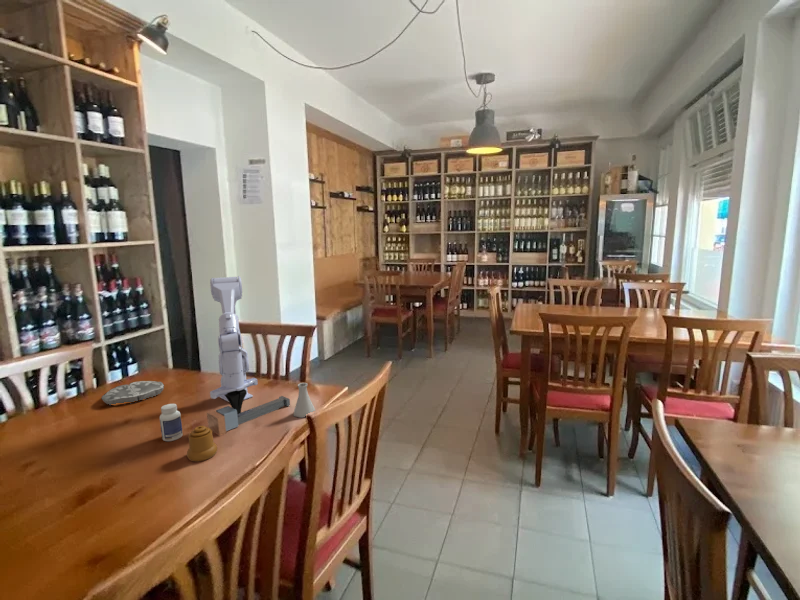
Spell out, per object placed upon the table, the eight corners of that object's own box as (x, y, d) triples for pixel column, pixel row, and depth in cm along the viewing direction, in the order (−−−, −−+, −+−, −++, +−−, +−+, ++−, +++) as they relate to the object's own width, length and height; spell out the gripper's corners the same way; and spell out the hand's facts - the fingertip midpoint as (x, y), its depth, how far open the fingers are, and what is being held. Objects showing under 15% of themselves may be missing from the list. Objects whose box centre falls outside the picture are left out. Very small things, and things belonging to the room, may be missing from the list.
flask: (318, 408, 141) (316, 380, 139) (311, 418, 134) (309, 388, 132) (297, 408, 142) (295, 380, 140) (289, 418, 135) (287, 388, 133)
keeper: (217, 426, 130) (215, 410, 129) (229, 421, 133) (228, 405, 132) (226, 431, 126) (224, 414, 125) (238, 426, 129) (236, 410, 128)
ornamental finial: (220, 446, 118) (213, 461, 111) (192, 449, 117) (183, 464, 110) (217, 420, 117) (210, 432, 109) (189, 422, 115) (179, 435, 108)
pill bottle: (187, 434, 125) (183, 404, 124) (170, 443, 120) (166, 411, 119) (174, 431, 128) (170, 401, 126) (158, 439, 123) (154, 408, 121)
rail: (208, 429, 128) (206, 412, 128) (280, 401, 148) (279, 386, 147) (219, 436, 124) (217, 418, 123) (292, 406, 143) (291, 391, 142)
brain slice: (157, 384, 168) (156, 376, 168) (169, 395, 156) (168, 388, 156) (98, 398, 156) (96, 390, 155) (105, 412, 143) (104, 404, 143)
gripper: (216, 381, 121) (221, 425, 124) (261, 367, 132) (264, 408, 134) (205, 376, 126) (209, 418, 128) (249, 363, 137) (253, 402, 139)
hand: (237, 412), depth 132 cm, fingers closed
